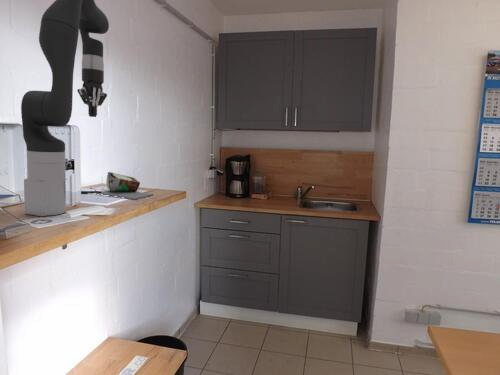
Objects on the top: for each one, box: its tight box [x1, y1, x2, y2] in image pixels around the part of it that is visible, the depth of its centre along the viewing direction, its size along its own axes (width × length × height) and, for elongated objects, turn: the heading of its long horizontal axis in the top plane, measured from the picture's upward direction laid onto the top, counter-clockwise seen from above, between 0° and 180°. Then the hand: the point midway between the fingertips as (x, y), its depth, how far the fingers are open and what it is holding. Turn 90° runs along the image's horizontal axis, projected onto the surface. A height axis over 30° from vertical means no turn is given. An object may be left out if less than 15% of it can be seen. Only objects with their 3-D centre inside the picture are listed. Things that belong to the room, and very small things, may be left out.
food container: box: [106, 171, 141, 192], centre depth 140 cm, size 12×6×10 cm
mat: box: [95, 189, 154, 201], centre depth 135 cm, size 12×18×1 cm, turn 72°
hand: (92, 116), depth 135 cm, fingers closed
